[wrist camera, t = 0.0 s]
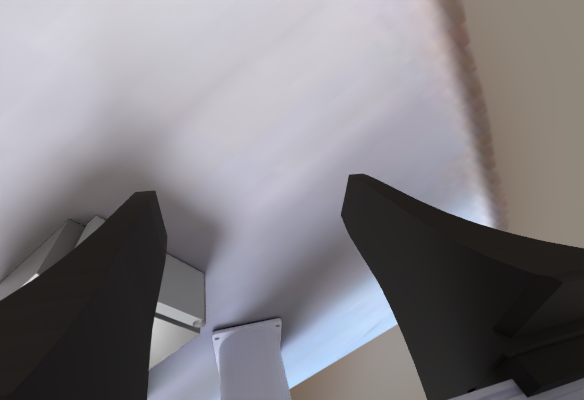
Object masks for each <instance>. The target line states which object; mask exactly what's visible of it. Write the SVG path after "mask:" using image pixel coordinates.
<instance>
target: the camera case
mask: <svg viewBox="0 0 584 400" xmlns="http://www.w3.org/2000/svg"><path fill="white" fill-rule="evenodd" d="M84 229H85V227H84V226H82V225H80V224H78V223H76V222H74V221H72V220H70V219H69V220H68V221H66V222H65V223H64V224H63V225H62V226H61V227H60V228H59V229H58V230H57V231H56V232H55V233H54V234H52V235H51V236H50V237H49V238H48V239H47V240H46V241H45V242H44V243H43V244H42V245H41V246H40V247H39V248H37V249H36V250H35V251H34V252H33V253H32V254H31V255H30V256H29V257H28V258H27V259H26V260H25V261H23V262H22V263H21V264H20V265H19V266H18V267H17V268H16V269H15V270H14V271H13V272H12V273H11V274H9V275H8V276H7V277H6V278H5V279H4V280H3V281H2V282H1V283H0V300H2V299H4V298H5V297H7V296H8V295H10V294H11V293H13V292H15V291H16V290H18V289H19V288H21V287H22V286H24V285H26V284H27V283H29V282H30V281H32V280H33V279H34V278H36V277H37V276H39V275H40V274H42V273H43V272H44V271H46V270H47V269H48V268H50V267H51V266H53V265H54V264H55V263H57V262H58V261H59V260H61V259H62V258H63V257H65V256H66V255H67V254H68V253H70V252H71V251H72V250H73V249H74V248H75V247H76V245H77V243H78V241H79V239H80V237H81V235H82V233H83V231H84ZM199 334H200V327H193V326H191V325H188V324H186V323H183V322H180V321H178V320H175V319H172V318H170V317H167V316H165V315H162V314H159V313H157V312H155V317H154V323H153V330H152V339H151V350H150V361H149V370H150V369H152V368H153V367H154V366H156V365H157V364H159V363H160V362H161V361H163V360H164V359H166V358H167V357H168V356H170V355H171V354H172V353H174V352H175V351H177V350H178V349H179V348H181V347H182V346H184V345H185V344H186V343H188V342H189V341H191V340H192V339H193V338H195V337H196V336H198V335H199Z"/></svg>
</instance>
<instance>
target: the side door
mask: <svg viewBox="0 0 584 400" xmlns="http://www.w3.org/2000/svg"><path fill="white" fill-rule="evenodd" d="M104 222H105V220H104V219H102V218H100V217H98V216H95V217H94V218H93V219H92V220H91V221H90V222H89V223H88V224H87V225H86V227H85V229H84V231H83V233H82V235H81V237H80V239H79V241H78V243H77V245H76V247H77V246H78V245H79V244H80V243H81V242H83V241H84V240H85V239H86V238H87V237H88V236H90V235H91V234H92V233H93V232H94V231H95V230H97V229H98V228H99V227H100V226H101V225H102V224H103V223H104ZM76 247H75V248H76ZM156 312H157V313H159V314H162V315H165V316H167V317H170V318H172V319H175V320H178V321H180V322H183V323H186V324H188V325H191V326H193V327H202V326H204V325H205V324H206V293H205V274H204V273H202V272H200V271H198V270H196V269H194V268H193V267H191V266H189V265H187V264H185V263H183V262H181V261H180V260H178V259H176V258H174V257H172V256H170V255H168V254H167V253H166V262H165V267H164V272H163V277H162V282H161V287H160V292H159V297H158V302H157V307H156Z"/></svg>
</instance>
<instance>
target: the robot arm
mask: <svg viewBox="0 0 584 400" xmlns="http://www.w3.org/2000/svg"><path fill="white" fill-rule="evenodd" d="M341 217H342V219H343V222H344V224H345V226H346V229H347V231H348V233H349V235H350V237H351V239H352V240H353V242H354V244H355V245H356V247H357V249H358V250H359V252H360V254H361V255H362V257H363V258H364V260H365V262H366V263H367V265H368V266H369V268H370V270H371V271H372V273H373V274H374V276H375V278H376V279H377V281H378V283H379V285H380V287H381V288H382V290H383V292H384V295H385V297H386V299H387V301H388V303H389V305H390V307H391V309H392V311H393V314H394V316H395V318H396V320H397V323H398V325H399V327H400V329H401V332H402V333H403V336H404V339H405V341H406V344H407V346H408V349H409V351H410V354H411V356H412V359H413V361H414V364H415V366H416V369H417V372H418V375H419V377H420V380H421V383H422V386H423V388H424V391H425V394H426V397H427V400H584V249H583V248H578V247H573V246H567V245H562V244H556V243H551V242H545V241H541V240H537V239H532V238H528V237H524V236H520V235H516V234H512V233H508V232H504V231H500V230H497V229H494V228H490V227H487V226H484V225H480V224H477V223H474V222H471V221H468V220H465V219H463V218H460V217H457V216H455V215H452V214H449V213H447V212H444V211H442V210H439V209H437V208H435V207H432V206H430V205H428V204H426V203H423V202H421V201H419V200H417V199H415V198H413V197H411V196H409V195H407V194H405V193H403V192H401V191H399V190H397V189H395V188H393V187H391V186H389V185H387V184H385V183H383V182H381V181H379V180H377V179H375V178H372V177H370V176H368V175H365V174H353V175H349V178H348V183H347V188H346V193H345V198H344V203H343V208H342V212H341ZM166 247H167V234H166V230H165V226H164V222H163V219H162V215H161V211H160V207H159V203H158V199H157V195H156V192H155V191H144V192H135V193H134V194H133V195H132V196H131V197H130V198H129V199H128V200H127V201H126V202H125V203H124V204H123V205H122V206H121V207H120V208H119V209H118V210H117V211H116V212H115V213H114V214H112V215H111V216H110V217H109V218H108V219H107V220H106V221H105V222H104V223H103V224H102V225H101V226H100V227H99V228H98V229H97V230H95V231H94V232H93V233H92V234H91V235H90V236H88V237H87V238H86V239H85V240H84V241H83V242H81V243H80V244H79V245H78V246H77V247H76V248H74V249H73V250H72V251H71V252H70V253H68V254H67V255H66V256H65V257H63V258H62V259H61V260H59V261H58V262H57V263H55V264H54V265H53V266H51V267H50V268H48V269H47V270H46V271H44V272H43V273H42V274H40V275H39V276H37V277H36V278H34V279H33V280H32V281H30V282H29V283H27V284H26V285H24V286H22V287H21V288H19V289H18V290H16V291H15V292H13V293H11V294H10V295H8V296H7V297H5V298H4V299H2V300H0V400H147V389H148V375H149V361H150V350H151V339H152V330H153V323H154V317H155V312H156V307H157V302H158V297H159V292H160V287H161V282H162V277H163V272H164V267H165V262H166ZM281 327H282V321H281V319H280V318H276V319H271V320H266V321H262V322H257V323H252V324H247V325H242V326H237V327H232V328H227V329H222V330H217V331H214V332H213V333H212V340H213V345H214V351H215V356H216V361H217V366H218V371H219V376H220V398H221V400H291V396H290V391H289V387H288V382H287V378H286V373H285V369H284V364H283V360H282V355H281V351H280V341H281Z"/></svg>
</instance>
